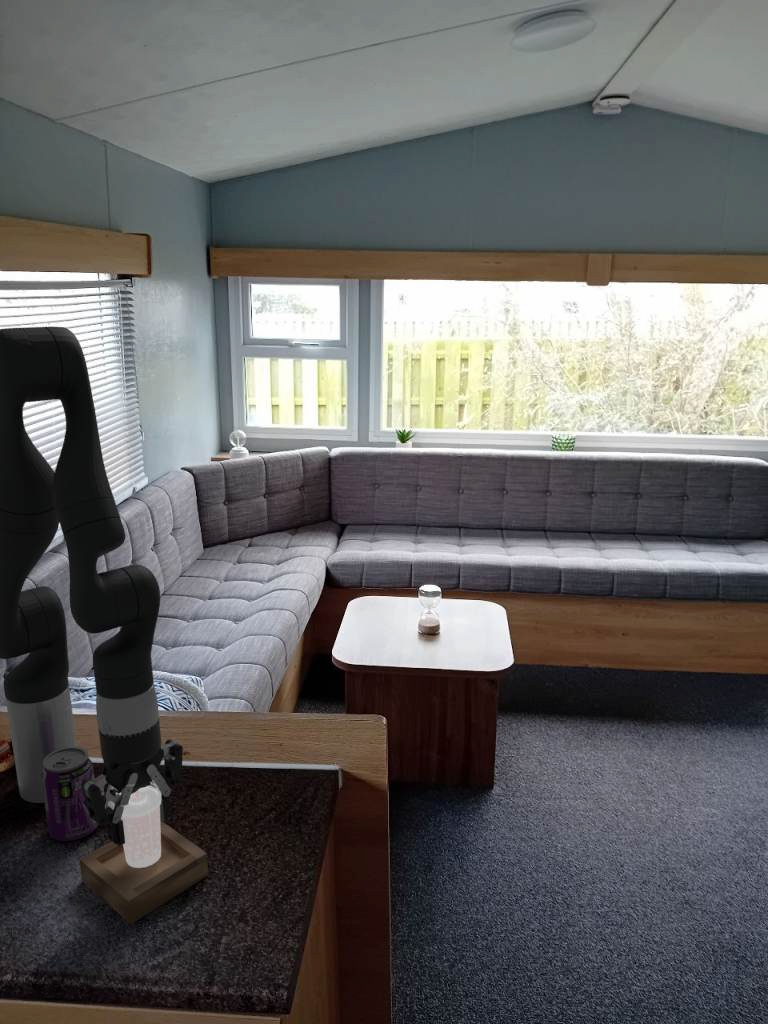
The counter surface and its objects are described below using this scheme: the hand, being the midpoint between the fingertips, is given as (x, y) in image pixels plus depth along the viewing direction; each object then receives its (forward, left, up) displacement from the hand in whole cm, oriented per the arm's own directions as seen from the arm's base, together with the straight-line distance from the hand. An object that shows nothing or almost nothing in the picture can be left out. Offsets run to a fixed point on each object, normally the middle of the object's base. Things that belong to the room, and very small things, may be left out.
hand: (140, 830), depth 114 cm
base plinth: (0, 0, -8) cm, 8 cm away
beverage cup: (0, 0, -4) cm, 4 cm away
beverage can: (-17, -1, -8) cm, 19 cm away
